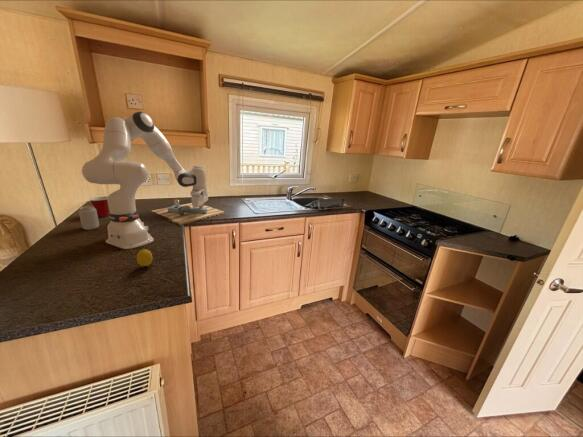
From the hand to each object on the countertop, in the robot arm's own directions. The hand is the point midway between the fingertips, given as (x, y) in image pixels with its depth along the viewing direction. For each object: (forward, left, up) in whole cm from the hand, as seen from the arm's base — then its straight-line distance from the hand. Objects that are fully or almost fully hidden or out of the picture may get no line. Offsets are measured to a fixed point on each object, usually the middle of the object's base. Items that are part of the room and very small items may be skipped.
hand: (201, 209), depth 169 cm
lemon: (-44, +59, -3) cm, 74 cm away
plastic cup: (+37, +46, -3) cm, 59 cm away
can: (+19, +58, -3) cm, 61 cm away
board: (+7, +6, -3) cm, 9 cm away
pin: (+12, +11, -1) cm, 16 cm away
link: (+5, +6, -1) cm, 8 cm away
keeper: (+3, +11, -1) cm, 12 cm away
